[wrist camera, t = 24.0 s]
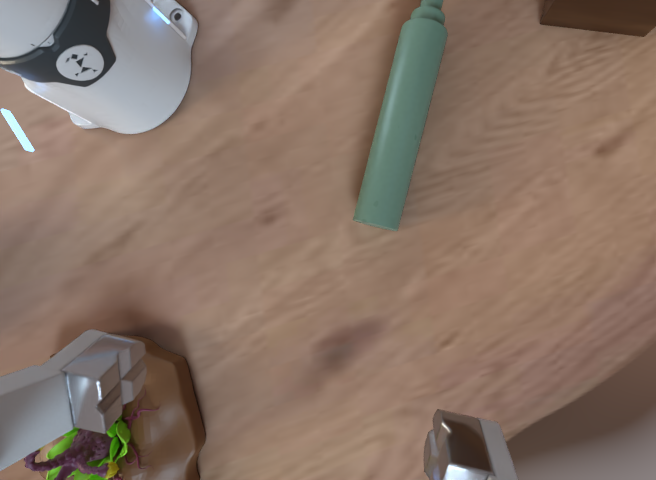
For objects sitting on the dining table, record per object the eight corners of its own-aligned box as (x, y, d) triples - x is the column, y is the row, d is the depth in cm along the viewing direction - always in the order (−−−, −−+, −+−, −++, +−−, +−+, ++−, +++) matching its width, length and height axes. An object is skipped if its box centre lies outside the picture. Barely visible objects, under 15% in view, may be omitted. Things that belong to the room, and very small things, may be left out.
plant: (198, 328, 41) (125, 356, 30) (212, 511, 40) (142, 608, 29) (46, 338, 45) (-69, 366, 34) (55, 505, 44) (-60, 591, 33)
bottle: (401, 230, 34) (354, 218, 33) (393, 231, 38) (351, 220, 38) (475, -58, 33) (427, -70, 33) (457, -23, 38) (415, -34, 38)
